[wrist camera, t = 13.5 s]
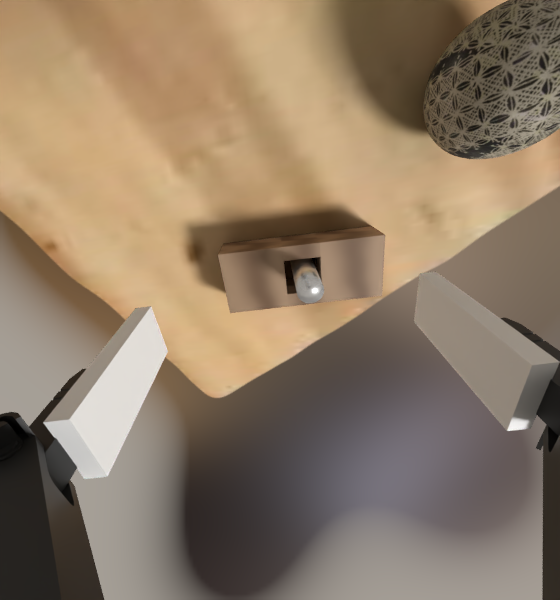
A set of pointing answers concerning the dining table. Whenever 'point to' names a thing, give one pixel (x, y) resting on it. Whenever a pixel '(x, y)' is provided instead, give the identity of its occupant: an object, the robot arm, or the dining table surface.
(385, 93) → the dining table surface
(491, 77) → the decorative egg
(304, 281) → the steel peg
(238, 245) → the hole block
